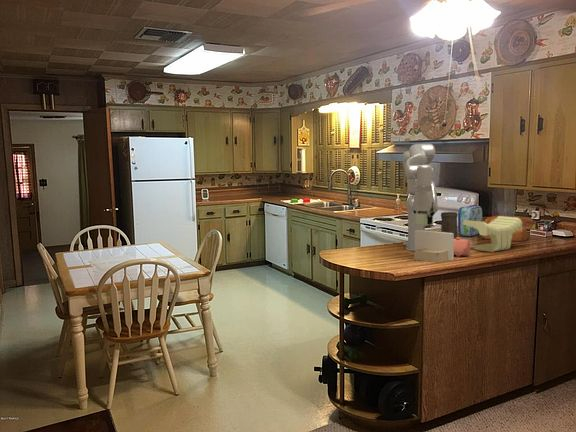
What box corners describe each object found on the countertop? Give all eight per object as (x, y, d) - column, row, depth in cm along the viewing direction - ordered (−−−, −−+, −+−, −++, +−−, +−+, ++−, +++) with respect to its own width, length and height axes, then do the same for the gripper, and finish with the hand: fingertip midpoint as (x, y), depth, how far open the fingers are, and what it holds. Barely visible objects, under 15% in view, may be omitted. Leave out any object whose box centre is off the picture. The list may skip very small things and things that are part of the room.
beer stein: (458, 244, 297) (458, 212, 296) (440, 244, 300) (440, 212, 300) (458, 242, 312) (458, 211, 311) (440, 242, 315) (440, 211, 314)
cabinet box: (414, 225, 251) (414, 209, 251) (423, 223, 256) (423, 207, 255) (424, 225, 247) (424, 209, 246) (432, 224, 252) (432, 208, 251)
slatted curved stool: (486, 254, 264) (486, 222, 263) (463, 250, 278) (463, 219, 277) (521, 248, 278) (522, 218, 277) (498, 245, 292) (498, 216, 291)
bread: (521, 242, 300) (522, 217, 299) (479, 239, 319) (479, 215, 317) (529, 239, 310) (529, 215, 309) (487, 236, 329) (487, 214, 327)
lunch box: (468, 232, 351) (468, 203, 349) (483, 233, 344) (484, 204, 342) (455, 236, 331) (455, 206, 328) (471, 238, 324) (471, 206, 322)
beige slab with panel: (404, 258, 260) (404, 232, 259) (416, 255, 268) (416, 230, 267) (441, 263, 244) (441, 235, 243) (453, 259, 252) (453, 233, 251)
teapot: (443, 257, 260) (443, 238, 259) (444, 253, 271) (444, 235, 270) (471, 258, 255) (471, 239, 254) (471, 254, 266) (471, 236, 265)
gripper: (405, 189, 254) (406, 223, 256) (434, 189, 241) (434, 225, 243) (414, 188, 259) (414, 221, 261) (443, 189, 246) (442, 224, 247)
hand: (424, 223), depth 252 cm, fingers closed on cabinet box, 6 cm apart
